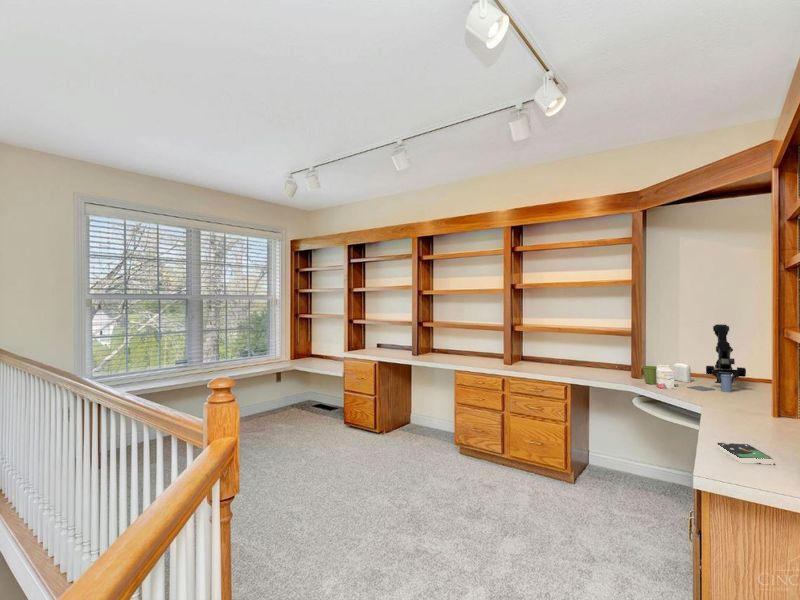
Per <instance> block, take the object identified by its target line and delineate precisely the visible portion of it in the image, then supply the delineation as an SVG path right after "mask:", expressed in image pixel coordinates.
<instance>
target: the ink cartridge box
mask: <svg viewBox="0 0 800 600" xmlns="http://www.w3.org/2000/svg"><path fill="white" fill-rule="evenodd" d="M656 366H657V369H656V379H657V384H656V388H658V389H664V390H665V389H667V390H669V389H670V390H673V389H675V380H674V369H673V370H672V369H671V364H656Z"/></svg>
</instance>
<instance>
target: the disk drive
mask: <svg viewBox="0 0 800 600" xmlns="http://www.w3.org/2000/svg"><path fill="white" fill-rule="evenodd" d="M717 444H718V445H720V446H721V447H723V448H724V449H726V450H727V451H729V452H730V453H732V454H734V455H736V456H737V457H739V458H756V459H757V458H758V459H761V458H762V459H763V458H764V459H772V460H773V458H772V456H770V455H767V454H766V453H765V452H762V451H761V450H759V449H757V448H756V447H753V446H752V445H751V444H748V443H725V442H717Z"/></svg>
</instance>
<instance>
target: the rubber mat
mask: <svg viewBox="0 0 800 600" xmlns="http://www.w3.org/2000/svg"><path fill="white" fill-rule="evenodd" d="M686 389H690V390H696V391H700V392H707V391H716V388H711V387H708V386H707V387H706V386H702V385H694V386H686Z"/></svg>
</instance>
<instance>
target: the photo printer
mask: <svg viewBox="0 0 800 600" xmlns="http://www.w3.org/2000/svg"><path fill="white" fill-rule="evenodd" d="M673 371H674V381H677V382H683V383H687V382H690V383H691V380H692V379H691V376H692V375H691V371H692V370H691V366H690V365H689V364H685V363H683V362H682V363H681V362H679V363H677V362H676V363H674V365H673Z"/></svg>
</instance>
